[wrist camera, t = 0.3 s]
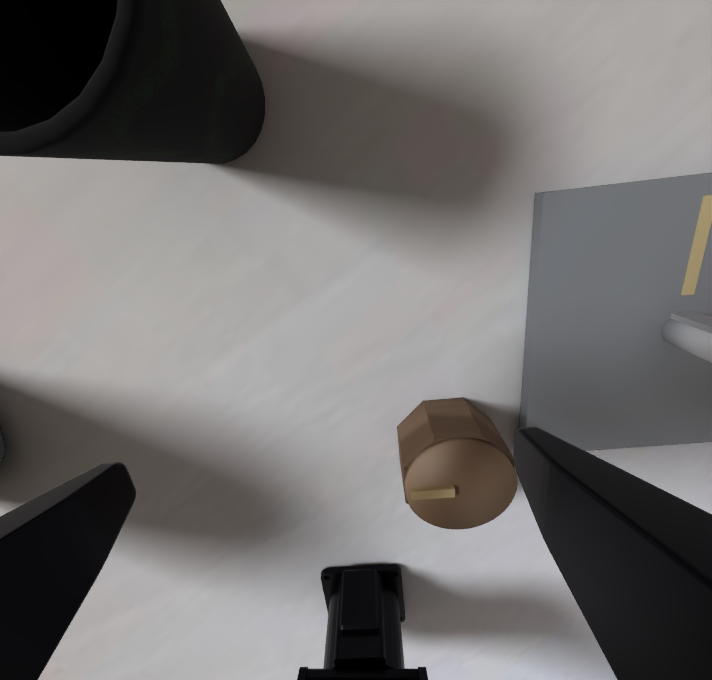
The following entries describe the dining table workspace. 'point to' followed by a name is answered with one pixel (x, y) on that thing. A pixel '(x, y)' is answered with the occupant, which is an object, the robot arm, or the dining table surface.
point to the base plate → (621, 314)
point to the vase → (1, 447)
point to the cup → (126, 81)
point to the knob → (454, 465)
